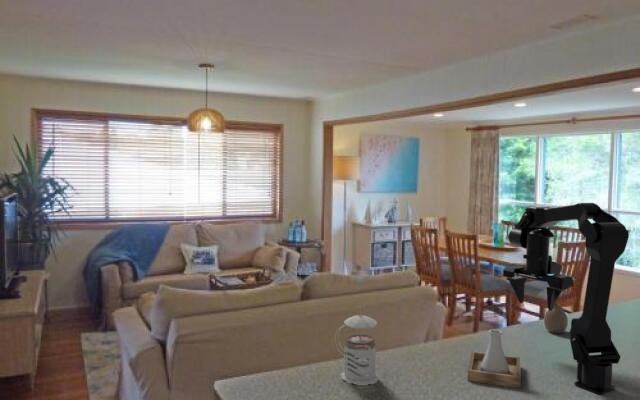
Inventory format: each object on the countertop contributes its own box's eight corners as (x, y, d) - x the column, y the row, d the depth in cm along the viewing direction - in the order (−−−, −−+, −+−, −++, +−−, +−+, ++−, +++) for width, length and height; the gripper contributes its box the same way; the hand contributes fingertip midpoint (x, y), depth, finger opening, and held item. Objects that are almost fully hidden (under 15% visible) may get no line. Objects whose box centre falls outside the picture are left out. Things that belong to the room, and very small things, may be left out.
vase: (545, 333, 160) (546, 306, 159) (542, 327, 167) (543, 301, 166) (569, 336, 158) (570, 308, 157) (565, 329, 165) (566, 302, 164)
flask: (505, 365, 132) (506, 327, 131) (513, 376, 125) (514, 336, 124) (476, 363, 133) (477, 326, 132) (482, 375, 126) (483, 335, 125)
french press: (369, 389, 119) (370, 283, 117) (326, 378, 125) (327, 277, 123) (386, 374, 127) (387, 275, 126) (345, 364, 133) (346, 270, 132)
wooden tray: (519, 366, 133) (519, 357, 133) (520, 388, 120) (520, 377, 120) (471, 360, 137) (471, 351, 137) (467, 380, 124) (467, 370, 124)
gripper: (586, 254, 138) (584, 310, 139) (526, 245, 154) (525, 295, 155) (561, 257, 133) (559, 316, 134) (502, 247, 148) (500, 300, 149)
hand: (535, 306), depth 143 cm, fingers open, 9 cm apart
